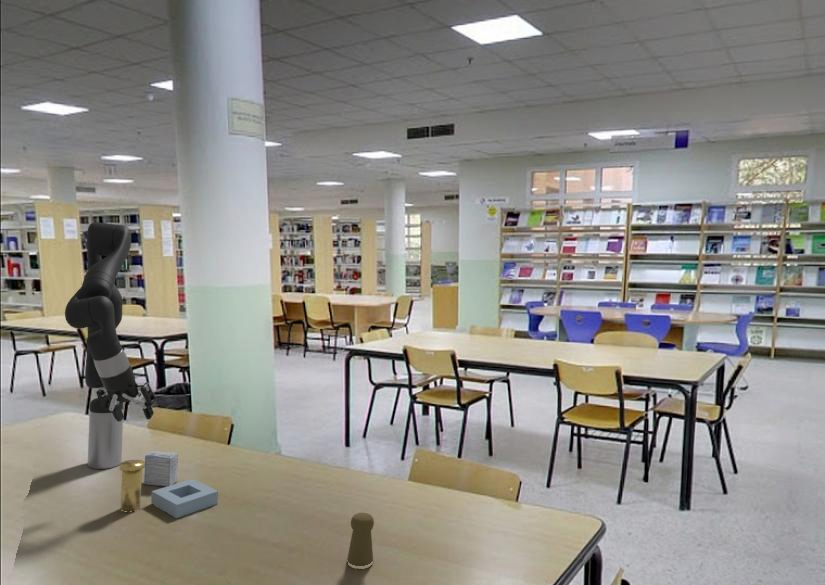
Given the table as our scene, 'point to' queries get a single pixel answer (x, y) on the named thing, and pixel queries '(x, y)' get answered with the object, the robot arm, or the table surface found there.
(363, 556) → the cork
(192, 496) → the jig
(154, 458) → the medicine box
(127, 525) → the table surface
